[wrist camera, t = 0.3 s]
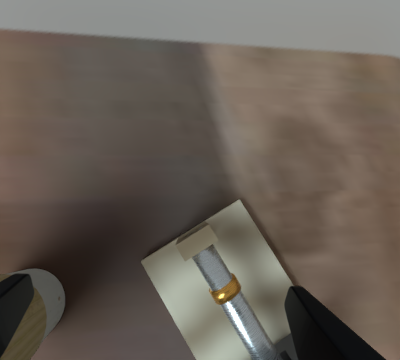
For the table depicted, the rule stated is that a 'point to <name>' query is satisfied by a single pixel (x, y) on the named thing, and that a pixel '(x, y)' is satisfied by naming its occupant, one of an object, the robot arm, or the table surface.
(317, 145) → the table surface
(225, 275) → the rod
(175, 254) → the stand
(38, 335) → the coffee cup
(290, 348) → the collar
